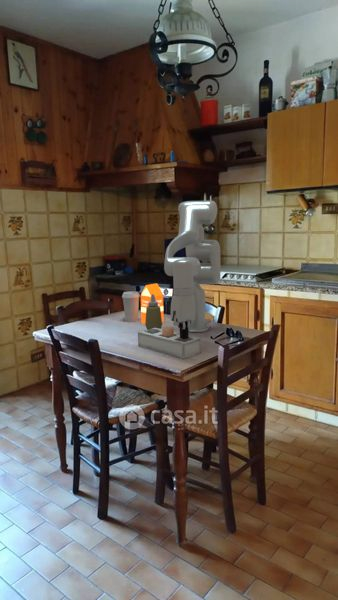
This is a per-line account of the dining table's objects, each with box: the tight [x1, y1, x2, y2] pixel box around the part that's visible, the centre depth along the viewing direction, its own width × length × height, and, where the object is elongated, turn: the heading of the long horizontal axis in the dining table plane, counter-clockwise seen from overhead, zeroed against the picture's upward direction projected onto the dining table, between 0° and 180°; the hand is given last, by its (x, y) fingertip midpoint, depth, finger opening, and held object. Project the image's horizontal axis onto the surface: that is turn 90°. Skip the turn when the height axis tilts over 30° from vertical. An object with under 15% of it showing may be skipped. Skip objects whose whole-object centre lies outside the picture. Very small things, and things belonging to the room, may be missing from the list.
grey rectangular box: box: [137, 328, 202, 360], centre depth 173 cm, size 10×26×6 cm, turn 45°
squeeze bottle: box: [144, 294, 163, 330], centre depth 200 cm, size 8×8×18 cm
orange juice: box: [140, 283, 165, 325], centre depth 218 cm, size 8×9×20 cm
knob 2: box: [178, 337, 190, 342], centre depth 167 cm, size 5×5×5 cm
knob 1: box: [146, 329, 159, 334], centre depth 179 cm, size 5×5×5 cm
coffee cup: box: [121, 290, 141, 323], centre depth 224 cm, size 10×10×15 cm
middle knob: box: [161, 326, 175, 338], centre depth 172 cm, size 5×5×5 cm
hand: (184, 338), depth 166 cm, fingers closed
